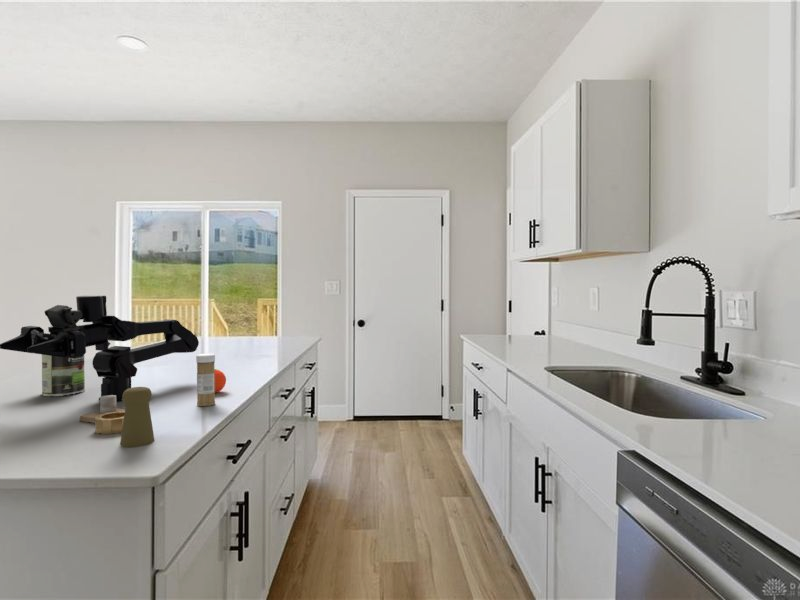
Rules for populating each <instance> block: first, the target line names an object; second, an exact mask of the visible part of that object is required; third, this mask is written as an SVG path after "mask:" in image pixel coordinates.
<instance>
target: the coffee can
mask: <svg viewBox="0 0 800 600" xmlns="http://www.w3.org/2000/svg"><path fill="white" fill-rule="evenodd" d="M85 387H86V385H85V355H84V356H83V357H80V358H64V357H56V356H49V355H42V354H41V396H42V397H50V396H53V397H62V396H61V395H67V396H70V395H69V394H73V395H76V394H75V393H78V394H80V393H79V392H82V391H84V390H85V391H86V389H85ZM85 391H84V392H85ZM82 393H83V392H82Z"/></svg>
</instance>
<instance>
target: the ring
mask: <svg viewBox="0 0 800 600" xmlns="http://www.w3.org/2000/svg"><path fill="white" fill-rule="evenodd" d="M124 413H125V411H117V412H109V413H105V414H101V415H98V416H97V417H95V424H94V425H95V428H94V430H95V434H98V433H102V434H101V435H113V434H112V433H115V434H120V433H119V432H121V433H122V427H123V420H124ZM109 433H110V434H109Z"/></svg>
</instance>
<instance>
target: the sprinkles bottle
mask: <svg viewBox="0 0 800 600" xmlns="http://www.w3.org/2000/svg"><path fill="white" fill-rule="evenodd" d="M195 360H196V394H197V396H196V397H197V398H196V399H197V402H196V405H197V406H198V407H210V406H213V405H215V404H216V400H215V398H216V396H215V395H216V393H215V371H214V369H215V362H216V354H215V353H200V354H196V358H195Z"/></svg>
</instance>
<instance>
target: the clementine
mask: <svg viewBox="0 0 800 600" xmlns="http://www.w3.org/2000/svg"><path fill="white" fill-rule="evenodd" d="M214 371H215V394H216V393H218V392H220V391H222V390H223V389H224V388H225V386H226V383H227V382H226V381H227V379H226V375H225V373H224V372H223V371H221V370H220V369H217V368H214Z"/></svg>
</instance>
